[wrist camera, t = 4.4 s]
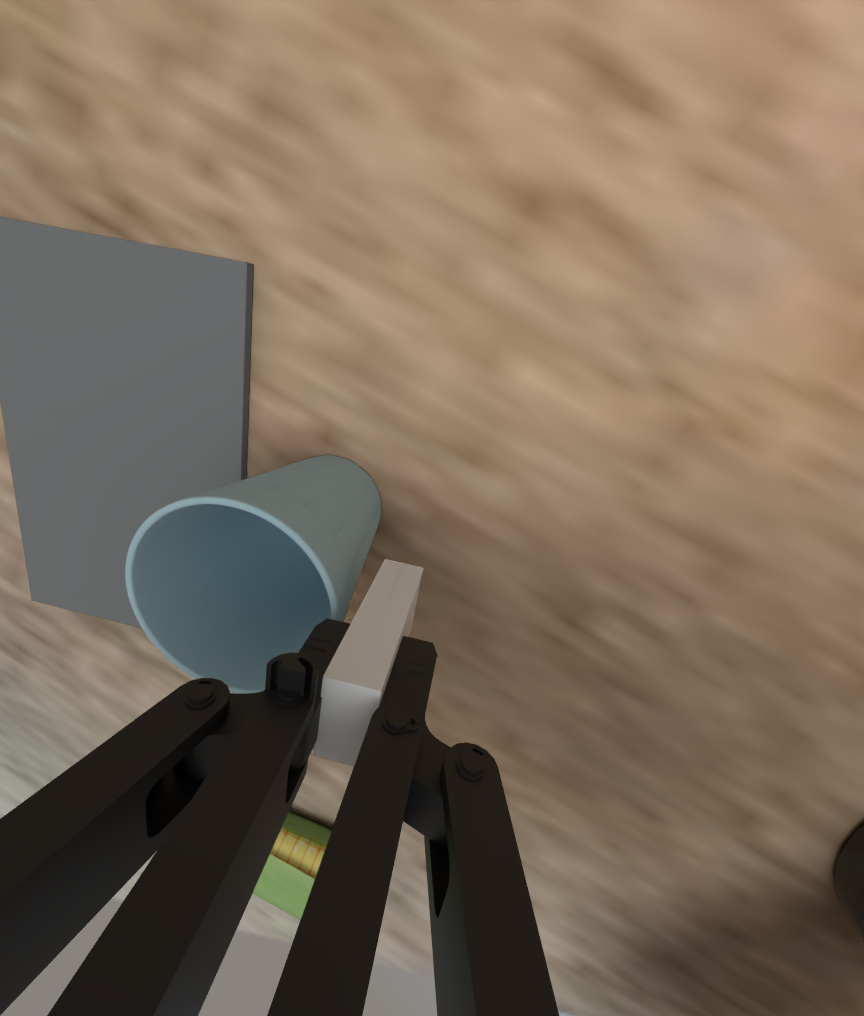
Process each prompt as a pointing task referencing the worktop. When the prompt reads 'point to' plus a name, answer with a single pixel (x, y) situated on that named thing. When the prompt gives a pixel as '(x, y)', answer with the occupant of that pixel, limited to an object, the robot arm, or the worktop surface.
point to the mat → (115, 397)
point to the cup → (252, 567)
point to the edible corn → (293, 864)
